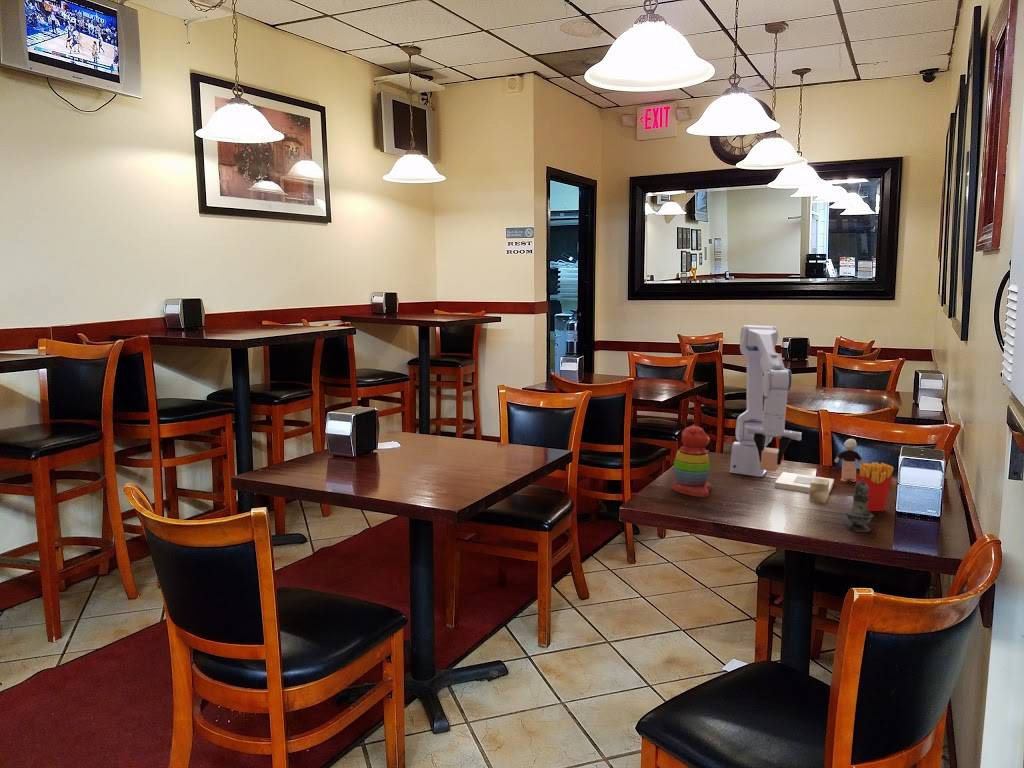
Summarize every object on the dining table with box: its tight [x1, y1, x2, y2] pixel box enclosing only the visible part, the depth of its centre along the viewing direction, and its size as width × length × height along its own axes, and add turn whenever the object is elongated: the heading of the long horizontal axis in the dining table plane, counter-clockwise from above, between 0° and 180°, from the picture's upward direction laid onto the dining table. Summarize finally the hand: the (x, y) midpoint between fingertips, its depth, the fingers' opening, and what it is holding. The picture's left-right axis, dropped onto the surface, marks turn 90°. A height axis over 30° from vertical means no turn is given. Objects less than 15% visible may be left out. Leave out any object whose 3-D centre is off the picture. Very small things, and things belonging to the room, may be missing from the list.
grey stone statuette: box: [845, 479, 874, 533], centre depth 181 cm, size 6×6×12 cm
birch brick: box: [808, 478, 829, 504], centre depth 205 cm, size 4×6×5 cm, turn 152°
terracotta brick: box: [760, 446, 780, 472], centre depth 210 cm, size 4×6×5 cm, turn 152°
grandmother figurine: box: [834, 438, 864, 482], centre depth 224 cm, size 8×4×13 cm, turn 84°
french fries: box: [856, 461, 894, 512], centre depth 196 cm, size 8×4×12 cm, turn 94°
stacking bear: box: [672, 424, 713, 498], centre depth 207 cm, size 11×10×18 cm
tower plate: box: [774, 471, 835, 497], centre depth 218 cm, size 14×14×2 cm
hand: (770, 462), depth 210 cm, fingers closed on terracotta brick, 4 cm apart
